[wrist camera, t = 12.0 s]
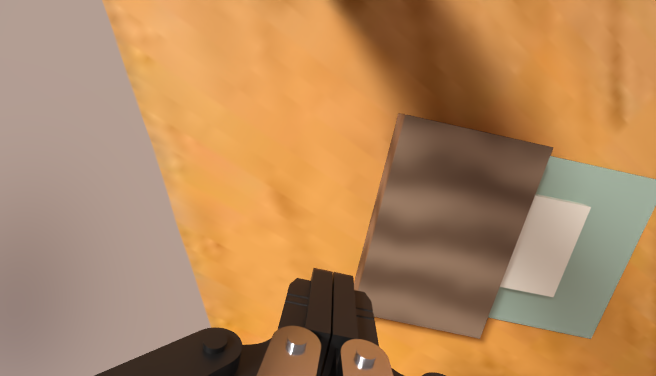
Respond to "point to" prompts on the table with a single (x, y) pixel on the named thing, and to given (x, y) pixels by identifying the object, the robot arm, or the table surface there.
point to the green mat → (585, 247)
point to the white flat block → (545, 245)
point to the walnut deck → (446, 223)
